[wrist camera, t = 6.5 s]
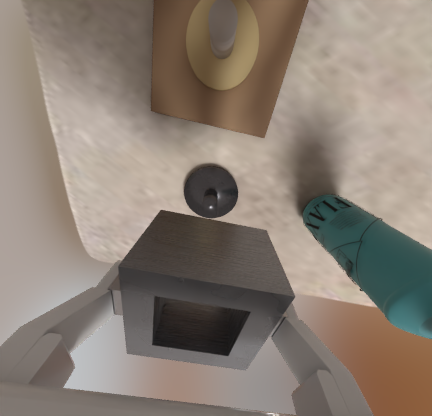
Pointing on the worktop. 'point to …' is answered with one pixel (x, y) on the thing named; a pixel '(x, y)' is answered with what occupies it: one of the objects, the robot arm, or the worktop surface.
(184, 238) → the square metal tube
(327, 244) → the beverage bottle
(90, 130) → the worktop surface
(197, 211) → the stand
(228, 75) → the brown square board
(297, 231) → the worktop surface
